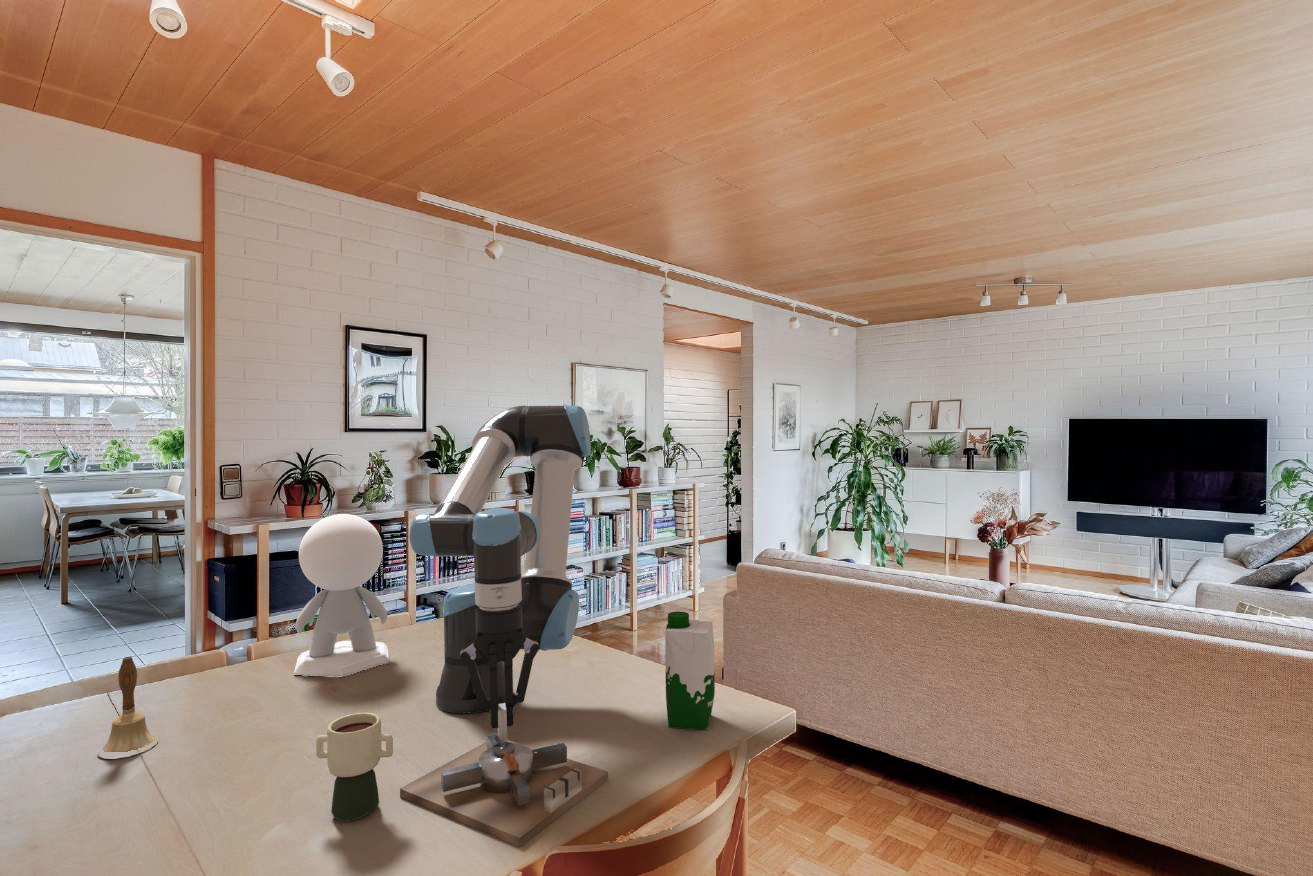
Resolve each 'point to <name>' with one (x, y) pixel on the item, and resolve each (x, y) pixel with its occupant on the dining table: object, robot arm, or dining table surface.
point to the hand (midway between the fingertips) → (502, 745)
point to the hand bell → (128, 716)
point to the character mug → (354, 762)
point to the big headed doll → (341, 597)
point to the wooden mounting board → (507, 797)
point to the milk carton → (689, 671)
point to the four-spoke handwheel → (504, 768)
